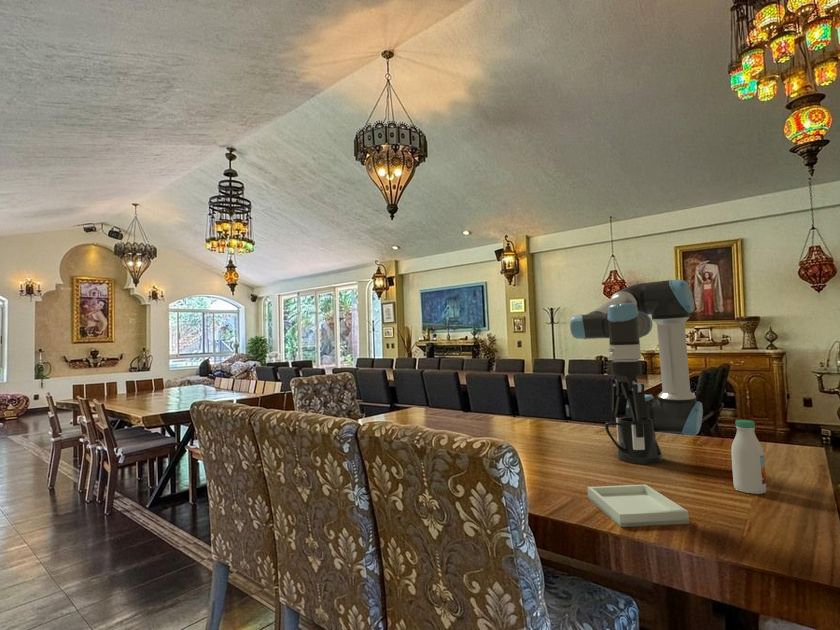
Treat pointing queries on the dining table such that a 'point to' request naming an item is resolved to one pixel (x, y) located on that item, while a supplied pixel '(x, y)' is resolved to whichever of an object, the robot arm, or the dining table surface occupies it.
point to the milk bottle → (748, 460)
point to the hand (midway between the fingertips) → (630, 445)
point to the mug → (627, 437)
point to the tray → (637, 506)
